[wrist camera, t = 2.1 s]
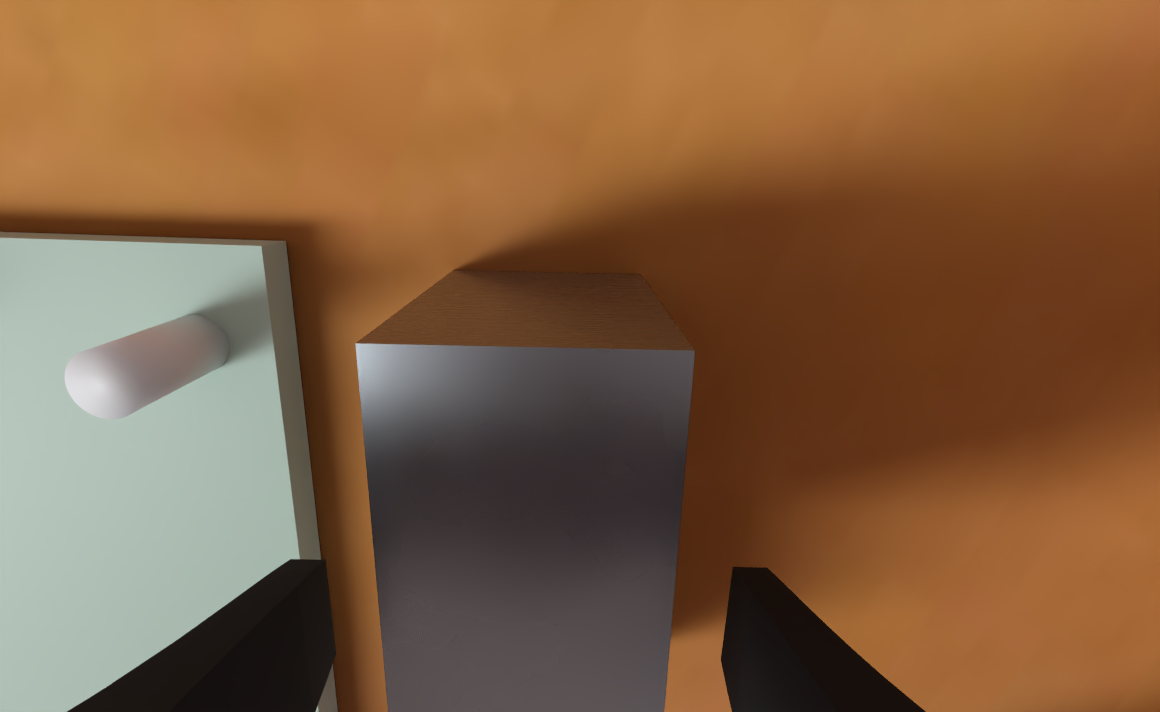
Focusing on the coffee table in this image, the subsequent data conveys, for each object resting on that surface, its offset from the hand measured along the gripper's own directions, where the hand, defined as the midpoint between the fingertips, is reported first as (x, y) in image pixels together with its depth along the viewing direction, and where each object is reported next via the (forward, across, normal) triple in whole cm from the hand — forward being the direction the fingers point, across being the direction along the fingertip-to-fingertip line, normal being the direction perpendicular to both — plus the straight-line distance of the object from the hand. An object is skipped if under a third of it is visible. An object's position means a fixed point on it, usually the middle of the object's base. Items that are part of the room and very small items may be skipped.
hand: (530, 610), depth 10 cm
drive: (+4, 0, 0) cm, 4 cm away
